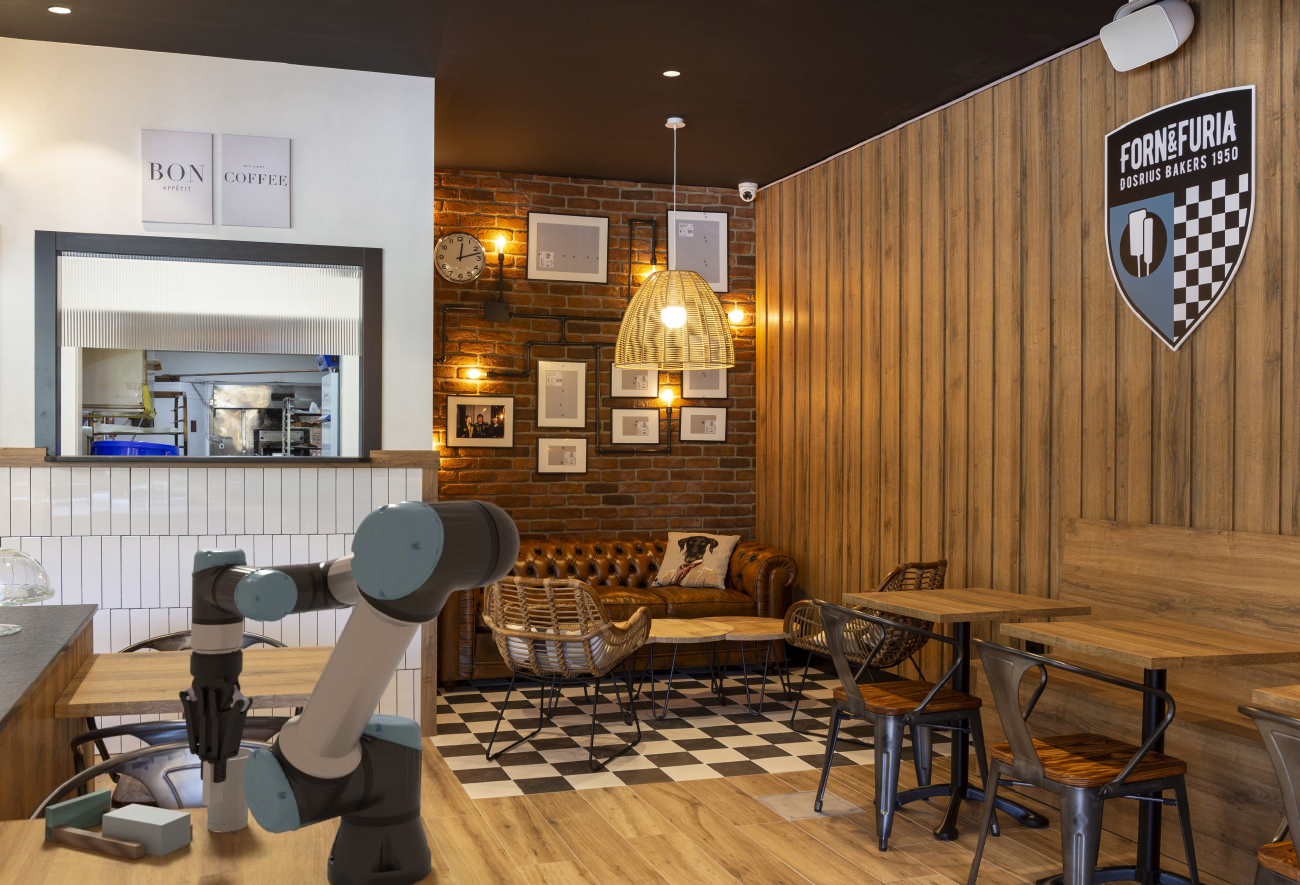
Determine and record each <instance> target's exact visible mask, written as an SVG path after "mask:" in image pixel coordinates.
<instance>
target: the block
mask: <svg viewBox="0 0 1300 885" xmlns="http://www.w3.org/2000/svg"><path fill="white" fill-rule="evenodd" d="M116 809H117V810H114V811H112V812H109V813H106V814H104V815H103V819H102V823H101V824H102V826H101V828H102V831H101V834H103V835H108V836H112V837H117V838H121V839H126V840H130V841H135V842H140V843H144V854H147V855H153V856H158V857H163V856H165V855H167V854H170V853H172V852H174V851H177V850H178V849H181V848H184V847H185V846H188V845H190V844H191V838H190V829H191V824H192V823H191V821H192V818H191V817H192V813H190V812H184V811H178V810H172V809H166V808H161V807H154V806H149V805H144V804H137V803H131V804H128V805H126V806H123V807H121V808H116ZM189 843H190V844H189Z"/></svg>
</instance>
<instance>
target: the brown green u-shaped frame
mask: <svg viewBox="0 0 1300 885" xmlns="http://www.w3.org/2000/svg"><path fill="white" fill-rule="evenodd" d="M117 809H118V808H115V807H112V789H109V788H103V789H100V790H96V791H93V792H91V793H87V794H84V795H80V796H78V797H75V798H72V799H68V800H64V801H62V802H58V803H56V804H52V805H49V806H46V807H45V816H44V817H45V819H44V820H45V823H44V828H45V829H44V840H48V841H52V842H57V843H61V844H64V845H65V844H66V845H70V846H74V847H79V848H82V849H86V850H92V851H96V852H101V853H105V854H108V855H109V854H110V855H114V856H117V857H121V858H126V859H131V860H135V861H137V860H138V859H142V858H144V856H145V853H144V843H140V842H135V841H130V840H126V839H121V838H117V837H112V836H108V835H103V834H102V833H98V832H95V831H89V830H85V829H88V828H91V827H93V826H97V825H99V824H102V819H103V815H104V814H106V813H109V812H112V811H114V810H117ZM193 825H194V824H192V823H191V829H190V839H192V838H193V829H194V828H193V827H194V826H193Z"/></svg>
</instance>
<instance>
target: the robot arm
mask: <svg viewBox="0 0 1300 885" xmlns="http://www.w3.org/2000/svg"><path fill="white" fill-rule="evenodd" d="M520 546H521V543H520V535H519V530H518V527H517V526H516V523H515V521H514V520H513V518H512V517H511V516H510V515H509V513H508V512H506V511H505V510H504V509H503V508H501V507H499V506H498V505H496V504H493V503H492V502H488V501H483V500H478V499H465V500H444V501H427V502H425V501H420V500H404V501H403V500H402V501H400V502H396V503H388V504H385V505H384V504H383V505H381V506H379V507H376V508H375V509H374V510H372V511H370V512H369V513H368V514H366V516H365V518H363V520H362V521H361V523H359V526H358V527H357V529H356V531H355V533H354V536H353V539H352V542H351V548H350V551H351V552H352V553H351V554H347V555H344V556H342V557H338V558H334V559H330V560H326V561H321V562H320V561H319V562H311V563H297V564H282V565H281V564H280V565H272V566H271V565H270V566H268V565H267V566H252V565H251V566H250V565H248V564H247V559H246V553H245V552H244V550H243V549H242V548H238V547H207V548H205V547H204V548H201V549H199V550H197V551H196V552H195V554H194V556H193V566H192V569H193V570H192V572H191V577H192V579H191V582H192V583H191V585H192V587H191V626H190V627H191V629H190V630H191V631H190V648H192V649H193V650H192V651H191V652H190V659H189V661H190V662H189V663H190V664H189V673H190V675H191V677H193V678H192V679H193V680H192V682H191V686H190V687H188V688H187V689H185V690H180V691H179V693H178V697H179V698H180V701H181V704H182V707H183V711H184V713H183V714H184V719H185V726H186V733H187V741H188V748H189V752H190V754H191V755H196V756H198V759H199V760H200V773H199V774H200V780H201V781H202V792H201V793H202V796H201V805H204V806H207V805H208V806H210V805H213V804H215V803H218V802H220V801H223V781H225V780H226V768H227V760H228V759H229V758H232V757H235V756H237V755H238V752H239V748H240V747H241V743H242V738H243V733H244V729H245V724H246V721H247V720H246V719H247V717H248V716H247V715H248V711H249V710H250V708H251V706H252V705H253V702H254V699H253V697H251V696H248V697H246V696H245V695H244V694H243V693H242V692H241V685H240V682H239V676H240V675H241V674H242V672H243V665H244V664H243V662H244V658H243V657H244V651H243V650H242V648H240V647H242V646H243V645H244V644H243V643H244V622H245V618H246V619H249V620H253V621H255V622H260V623H262V622H269V623H272V622H278V621H281V620H282V619H285V617H287V616H288V615H296V614H305V613H309V612H310V613H311V612H321V611H329V610H343V609H344V610H345V609H349V608H352V607H353V609H352V611H351V613H350V615H349V617H348V619H347V621H346V623H345V625H344V627H343V629H342V631H341V634H340V635H339V637H338V638H337V641H336V643H335V645H334V647H333V649H332V652H331V653H330V655H329V658H327V662H326V663H325V666H324V667H323V669H322V671H321V674H320V676H319V678H318V680H317V681H316V683H315V686H314V687H313V689H312V692H310V693H311V694H310V695H309V698H308V699H307V701H306V704H305V705H304V707H303V710H302V712H301V714H298V715H295V716H293V717H291V718H289V719H288V720H287V721H286V722H285V723H284V724H283V725H282V727H281V729H280V731H279V733H278V734H277V736H276V739H275V741H274V743H273V744H272V745H270V746H268V747H267V746H266V747H265V746H262V747H259V748H258V749H256V750H254V751H253V752H252V753H250V755H249V756H248V757H247V759H246V762H245V765H244V770H243V786H244V791H245V797H246V801H247V804H248V807H249V808H248V810H249V811H250V813H251V815H252V817H253V819H254V820H255V822H256V823H257V824H258V825H259V827H260V828H261V829H263V830H264V831H265V832H268V833H272V834H275V835H276V834H282V833H286V832H290V831H291V832H295V831H296V832H297V831H299V830H300V829H303V828H306V827H309V826H313V825H316V824H319V823H322V822H326V821H329V820H332V819H335V818H339V817H340V820H339V821H340V823H339V826H338V829H337V832H336V835H335V838H334V841H333V843H332V847H331V849H330V853H329V855H328V859H327V862H326V863H327V867H326V868H327V869H326V870H327V871H326V876H327V880H328V881H329V883H331V884H333V885H413V884H416V883H417V882H420V881H422V880H423V879H424V878H426V877H427V876H428V875H429V874H430V873H431V871H432V851H431V848H430V846H429V845H428V844H429V843H428V840H427V836H426V832H425V829H424V826H423V821H422V819H421V818H422V817H421V801H422V800H421V799H422V798H421V796H422V767H423V764H422V762H423V758H422V757H423V750H424V747H423V745H422V744H423V742H422V740H423V739H422V728H421V726H420V724H419V723H418V722H417V721H416V720H414V719H411V718H409V717H404V716H400V715H395V714H394V715H393V714H384V713H375V711H376V709H377V707H378V705H379V703H380V701H381V700H382V697H383V695H384V694H385V692H386V690H387V688H388V686H389V684H390V682H391V681H392V678H393V677H394V675H395V673H396V671H397V669H398V667H399V665H400V664H401V662H402V660H403V658H404V656H405V654H406V651H408V649H409V647H410V644H411V643H412V641H413V639H414V637H415V635H416V633H417V632H418V629H419V627H420V626H421V625H425V624H428V623H431V622H433V621H434V620H435V619H437V617H438V616H439V615H440V613H441V611H442V609H443V607H444V606H445V604H446V602H447V600H448V598H449V597H450V595H452V593H453V592H454V591H461V590H463V591H464V590H465V591H466V590H471V589H478V588H483V587H487V586H491V585H494V584H495V583H497V582H499V581H500V580H502V579H503V578H505V577H506V576H507V575H508V574H509V573H510V572H511V570H512V569H513V568H514V566H515V565H516V562H517V561H518V558H519V557H518V556H519V553H520ZM220 752H221V753H220Z"/></svg>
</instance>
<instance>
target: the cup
mask: <svg viewBox="0 0 1300 885" xmlns="http://www.w3.org/2000/svg"><path fill="white" fill-rule="evenodd" d="M253 751H255V750H254V749H252V748H248V747H241V746H240V748H239V752H238V755H237V756H235V757H232V758H229V759H228V760H227V768H226V780H225V781H223V801H220V802H218V803H215V804H213V805H210V806H208V805H206V810H207V812H206V813H207V820H206V823H207V824H206V829H207V828H208V829H209V830H212V831H219V832H218V833H231V832H230V831H232V832H236V831H239V830H242V829H244V827H245V828H247V826H248V824H249V822H248V821H249V807H248V804H247V801H246V797H245V791H244V786H243V770H244V765H245V762H246V759H247V757H248V756H249V755H250V753H252V752H253ZM220 753H221V752H220ZM208 829H207V830H208ZM209 830H208V831H209ZM235 830H236V831H235ZM212 831H211V832H212ZM220 831H221V832H220Z"/></svg>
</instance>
